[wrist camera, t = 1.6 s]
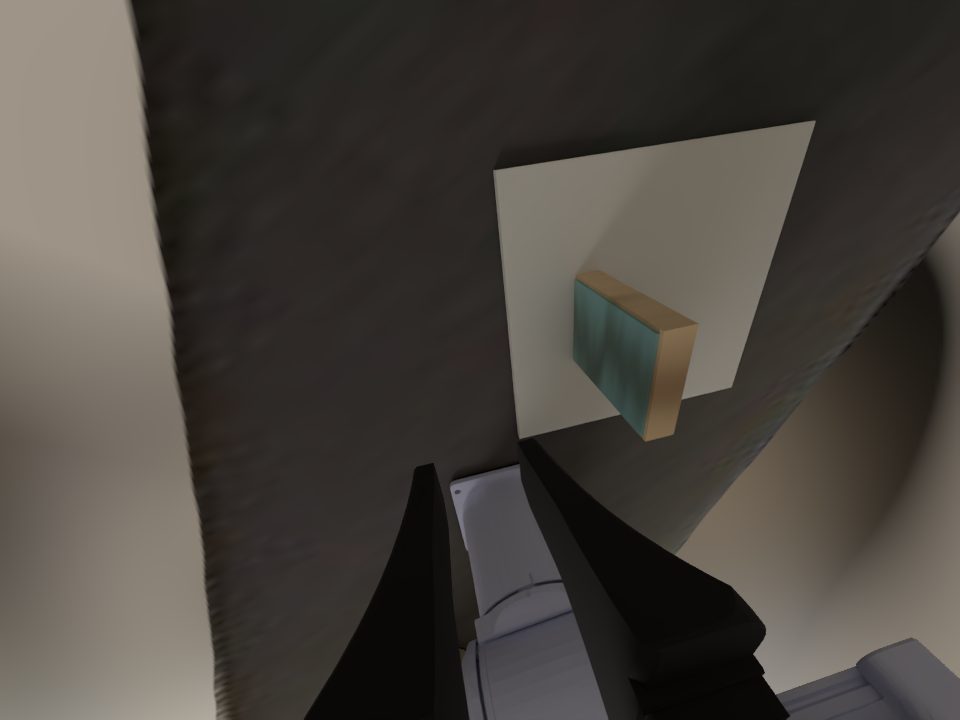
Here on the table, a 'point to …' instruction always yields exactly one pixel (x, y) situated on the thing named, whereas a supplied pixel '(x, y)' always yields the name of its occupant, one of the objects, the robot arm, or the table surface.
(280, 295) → the table surface
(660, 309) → the wood tile
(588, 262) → the rubber mat
